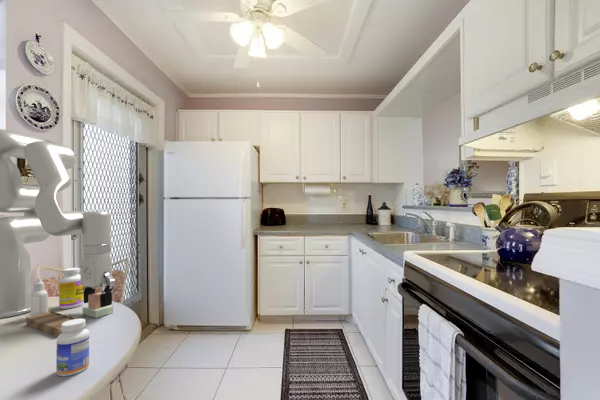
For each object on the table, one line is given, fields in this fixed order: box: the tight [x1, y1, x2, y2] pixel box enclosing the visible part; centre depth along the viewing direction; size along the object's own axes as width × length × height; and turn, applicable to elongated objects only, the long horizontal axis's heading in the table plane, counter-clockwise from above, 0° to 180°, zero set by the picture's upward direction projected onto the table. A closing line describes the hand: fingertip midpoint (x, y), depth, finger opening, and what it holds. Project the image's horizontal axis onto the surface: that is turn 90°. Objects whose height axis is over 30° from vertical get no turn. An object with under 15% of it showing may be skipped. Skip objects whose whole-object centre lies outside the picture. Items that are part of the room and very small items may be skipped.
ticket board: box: [25, 310, 86, 337], centre depth 85 cm, size 20×6×2 cm, turn 61°
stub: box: [81, 291, 114, 319], centre depth 95 cm, size 8×5×6 cm, turn 61°
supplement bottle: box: [58, 267, 84, 310], centre depth 103 cm, size 7×7×13 cm
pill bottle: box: [55, 318, 90, 377], centre depth 61 cm, size 5×5×10 cm
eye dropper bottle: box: [30, 277, 49, 317], centre depth 93 cm, size 4×6×12 cm
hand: (97, 303), depth 95 cm, fingers open, 9 cm apart
